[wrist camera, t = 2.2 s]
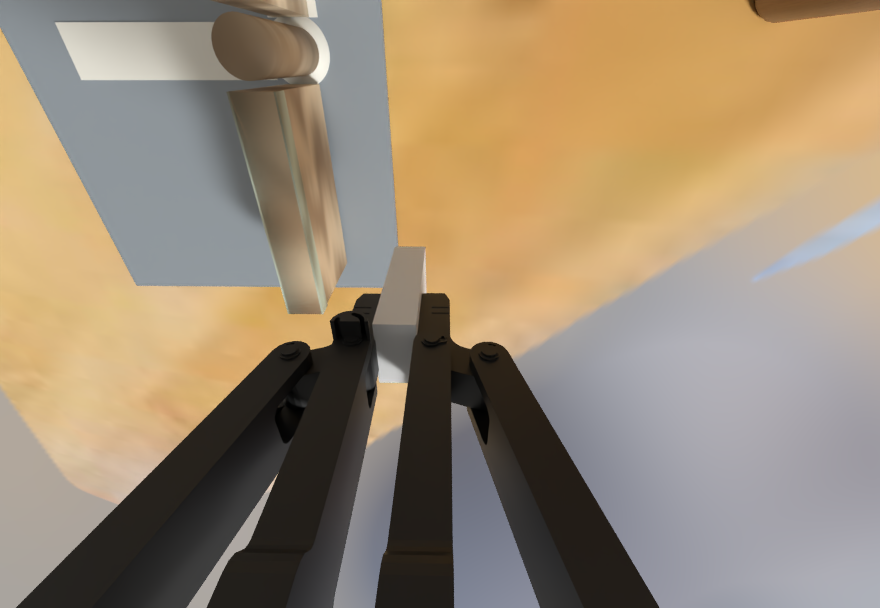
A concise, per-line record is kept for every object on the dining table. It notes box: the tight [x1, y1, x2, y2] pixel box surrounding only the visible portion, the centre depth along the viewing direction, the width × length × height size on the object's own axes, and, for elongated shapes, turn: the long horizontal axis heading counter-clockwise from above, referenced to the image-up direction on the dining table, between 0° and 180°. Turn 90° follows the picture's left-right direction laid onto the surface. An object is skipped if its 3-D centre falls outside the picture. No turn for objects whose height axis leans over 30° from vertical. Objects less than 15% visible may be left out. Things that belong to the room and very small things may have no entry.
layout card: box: [0, 0, 398, 288], centre depth 22 cm, size 32×22×1 cm
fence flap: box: [226, 84, 347, 314], centre depth 22 cm, size 12×2×7 cm, turn 0°
